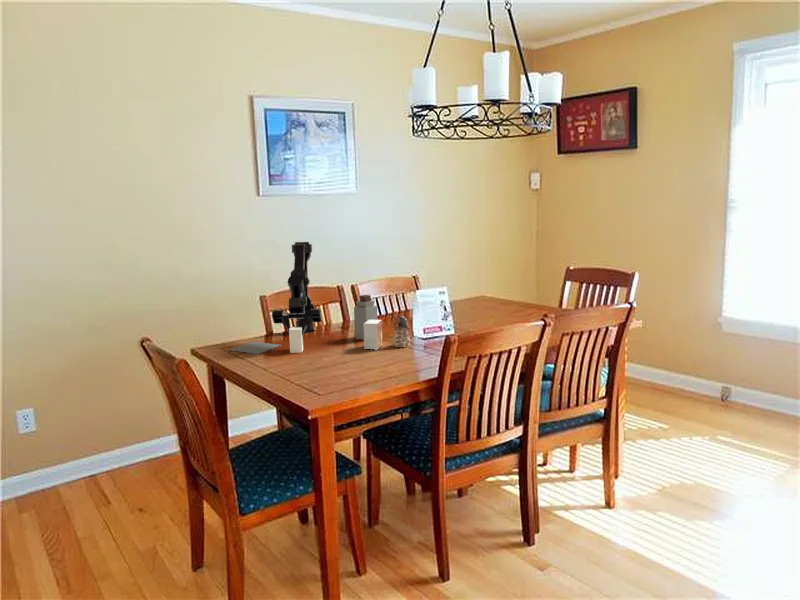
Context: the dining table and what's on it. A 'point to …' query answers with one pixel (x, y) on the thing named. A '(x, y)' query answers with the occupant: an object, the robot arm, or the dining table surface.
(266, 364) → the dining table surface
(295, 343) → the pale block
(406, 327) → the figurine
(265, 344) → the charcoal mat
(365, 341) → the small box
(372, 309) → the grey bottle
